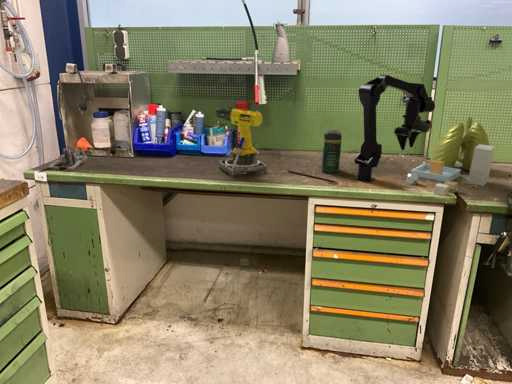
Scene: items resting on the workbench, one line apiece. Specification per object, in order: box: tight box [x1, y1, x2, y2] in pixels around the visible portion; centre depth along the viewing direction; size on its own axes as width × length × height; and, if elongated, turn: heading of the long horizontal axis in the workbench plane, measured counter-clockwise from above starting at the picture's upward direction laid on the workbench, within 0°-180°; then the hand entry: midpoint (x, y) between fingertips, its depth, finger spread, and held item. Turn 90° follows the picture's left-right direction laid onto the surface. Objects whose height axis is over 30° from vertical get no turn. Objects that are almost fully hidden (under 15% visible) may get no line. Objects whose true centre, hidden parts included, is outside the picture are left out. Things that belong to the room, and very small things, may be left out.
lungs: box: [429, 116, 491, 171], centre depth 194 cm, size 25×16×24 cm, turn 79°
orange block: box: [429, 160, 445, 175], centre depth 184 cm, size 4×4×6 cm
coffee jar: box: [321, 129, 343, 174], centre depth 189 cm, size 10×8×19 cm
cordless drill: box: [213, 106, 268, 177], centre depth 188 cm, size 18×19×28 cm
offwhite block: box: [433, 182, 449, 197], centre depth 161 cm, size 4×4×4 cm
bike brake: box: [38, 148, 88, 173], centre depth 191 cm, size 14×7×20 cm
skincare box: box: [467, 144, 496, 187], centre depth 174 cm, size 8×7×16 cm
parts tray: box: [410, 162, 462, 184], centre depth 185 cm, size 16×16×3 cm
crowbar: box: [286, 169, 339, 185], centre depth 181 cm, size 28×1×5 cm
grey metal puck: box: [406, 172, 420, 186], centre depth 174 cm, size 4×4×4 cm
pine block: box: [443, 181, 459, 194], centre depth 165 cm, size 4×4×4 cm
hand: (406, 148), depth 186 cm, fingers open, 9 cm apart
